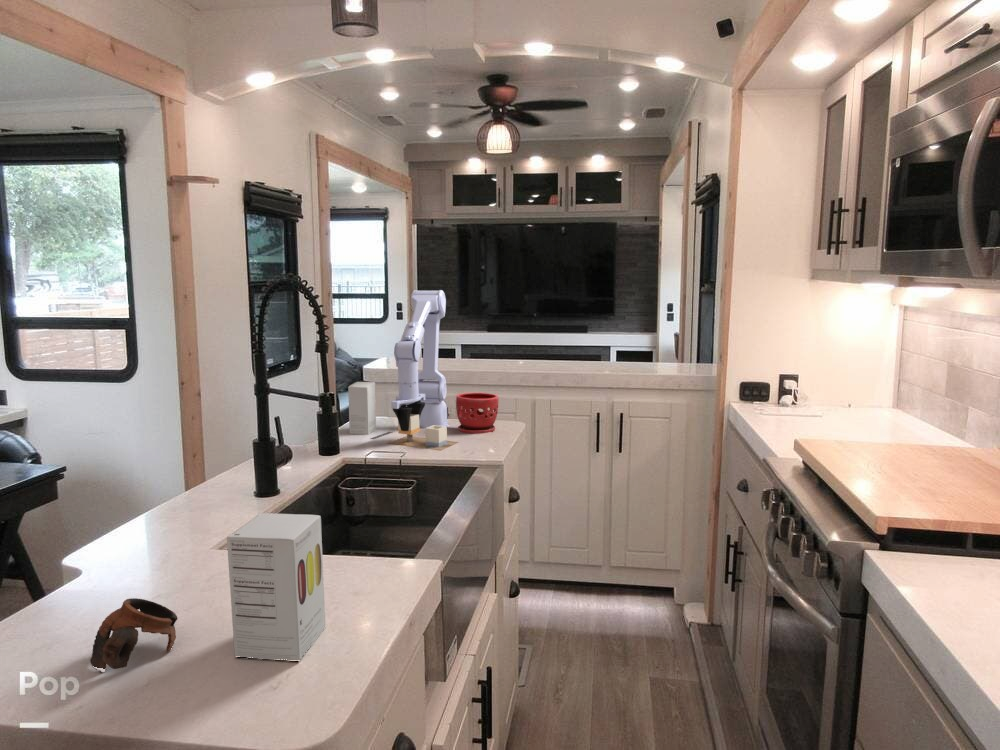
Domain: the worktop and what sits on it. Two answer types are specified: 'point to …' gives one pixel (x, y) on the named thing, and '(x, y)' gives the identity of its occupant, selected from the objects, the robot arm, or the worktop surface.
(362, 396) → the skincare box
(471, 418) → the plant pot
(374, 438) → the mat
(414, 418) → the cream square sleeve
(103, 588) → the worktop surface
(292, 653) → the supplement box
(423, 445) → the pin board
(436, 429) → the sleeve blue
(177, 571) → the worktop surface
